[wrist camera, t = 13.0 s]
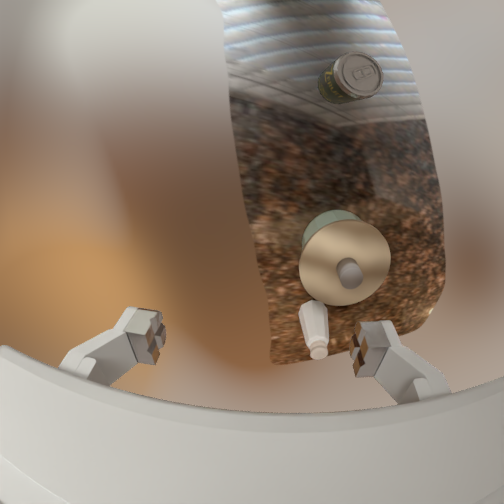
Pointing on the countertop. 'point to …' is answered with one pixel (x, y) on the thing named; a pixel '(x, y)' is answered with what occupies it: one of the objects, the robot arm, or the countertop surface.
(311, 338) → the pepper shaker
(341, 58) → the beer can
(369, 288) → the lid
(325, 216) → the pale green pot
